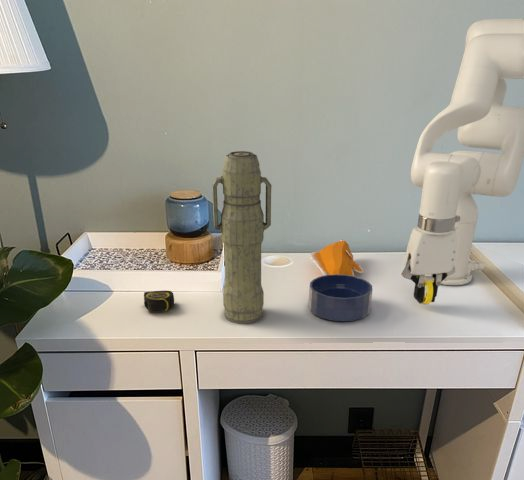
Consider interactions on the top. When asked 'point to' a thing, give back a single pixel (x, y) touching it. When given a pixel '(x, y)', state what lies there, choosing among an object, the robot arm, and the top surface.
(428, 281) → the watch
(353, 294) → the navy bowl
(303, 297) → the top surface
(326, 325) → the top surface
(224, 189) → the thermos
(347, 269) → the fish
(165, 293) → the tape measure
